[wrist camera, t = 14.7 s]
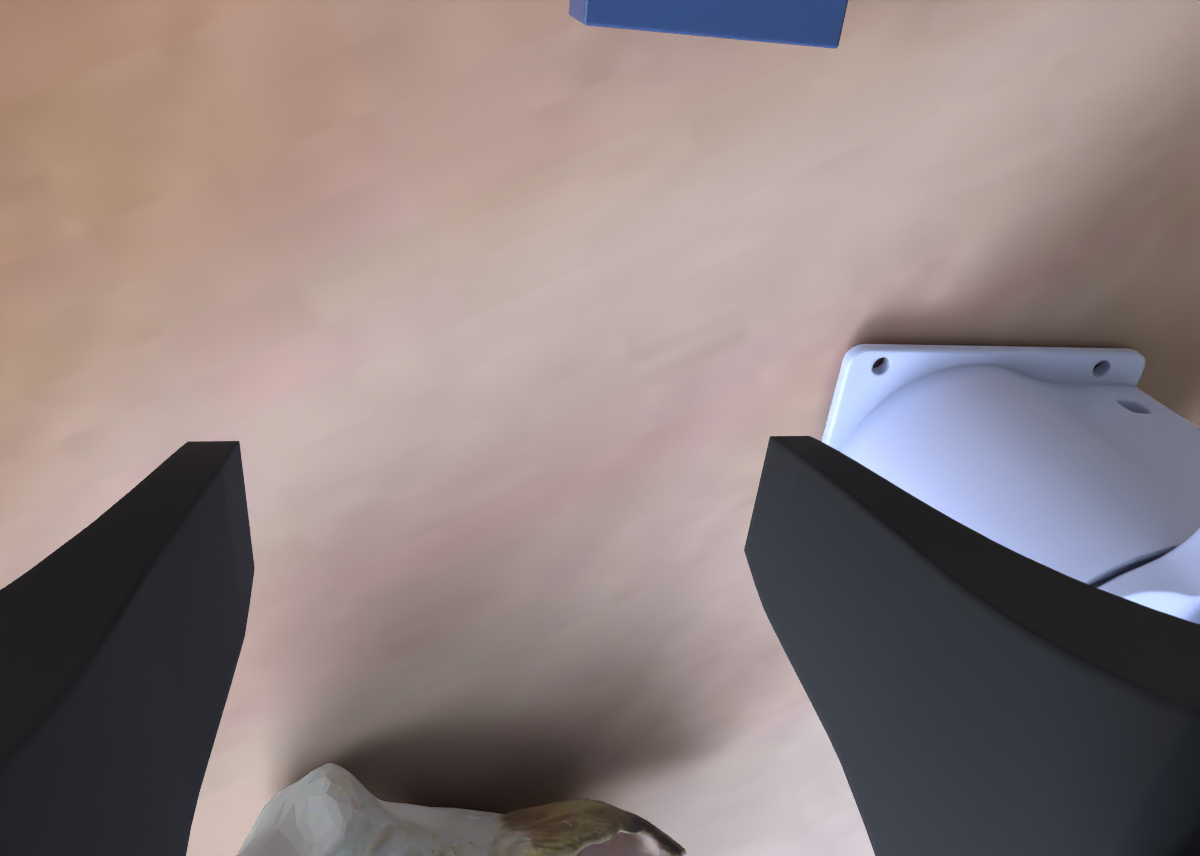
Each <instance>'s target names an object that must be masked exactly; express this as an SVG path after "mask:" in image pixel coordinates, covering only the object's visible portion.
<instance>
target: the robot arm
mask: <svg viewBox="0 0 1200 856" xmlns="http://www.w3.org/2000/svg"><path fill="white" fill-rule="evenodd" d="M883 357H884V361H883V362H882V364H881V365H880V366H879V367H877V368H873V364H874V363H875V361H876V360H878V359H879V358H883ZM1099 362H1100V364H1099V365H1098V367H1097V368H1095V369H1094V367H1095V366H1096V364H1098V363H1099ZM1145 363H1146V362H1145V357H1144V356H1143V355H1142V354H1140V353H1139V352H1137V351H1135V350H1133V349H1128V348H1072V347H1015V346H959V345H903V344H860V345H856V346H854V347H852V348H851V349H850V350H849V351H848V352H847V353H846V354H845V356H844V358H843V361H842V365H841V368H840V372H839V376H838V380H837V384H836V388H835V392H834V395H833V399H832V403H831V407H830V411H829V415H828V418H827V422H826V426H825V430H824V434H823V438H822V442H821V441H819V440H817V439H815V438H813V437H810V436H770V439H769V443H768V448H767V452H766V457H765V461H764V465H763V470H762V474H761V479H760V483H759V488H758V492H757V496H756V501H755V505H754V510H753V514H752V518H751V523H750V527H749V532H748V536H747V540H746V545H745V549H744V551H745V554H746V557H747V560H748V563H749V567H750V570H751V573H752V576H753V579H754V583H755V585H756V588H757V591H758V594H759V597H760V599H761V602H762V605H763V608H764V610H765V612H766V614H767V616H768V618H769V620H770V623H771V625H772V627H773V629H774V631H775V633H776V635H777V637H778V639H779V641H780V643H781V645H782V647H783V649H784V651H785V653H786V654H787V656H788V658H789V660H790V662H791V664H792V666H793V668H794V670H795V672H796V674H797V676H798V678H799V680H800V682H801V684H802V686H803V688H804V689H805V691H806V693H807V695H808V697H809V699H810V701H811V703H812V705H813V707H814V709H815V711H816V713H817V715H818V717H819V719H820V721H821V723H822V725H823V726H824V728H825V730H826V732H827V734H828V736H829V738H830V741H831V743H832V745H833V747H834V749H835V752H836V754H837V756H838V758H839V760H840V762H841V765H842V767H843V770H844V772H845V775H846V778H847V780H848V783H849V785H850V788H851V791H852V793H853V796H854V799H855V801H856V804H857V806H858V809H859V812H860V814H861V817H862V819H863V822H864V825H865V827H866V830H867V833H868V836H869V839H870V841H871V844H872V847H873V850H874V853H875V856H1200V428H1198V427H1197V426H1195V425H1194V424H1192V423H1191V422H1189V421H1188V420H1186V419H1185V418H1183V417H1181V416H1180V415H1178V414H1177V413H1175V412H1174V411H1172V410H1171V409H1169V408H1168V407H1166V406H1165V405H1163V404H1161V403H1160V402H1158V401H1157V400H1155V399H1154V398H1152V397H1151V396H1149V395H1148V394H1146V393H1145V392H1143V391H1141V390H1140V389H1138V388H1137V387H1136V386H1137V383H1138V381H1139V379H1140V377H1141V374H1142V372H1143V370H1144V367H1145ZM1093 369H1094V370H1093ZM253 576H254V561H253V553H252V544H251V536H250V527H249V519H248V511H247V502H246V494H245V485H244V477H243V469H242V460H241V452H240V443H239V441H212V442H187V443H186V444H184V445H183V446H182V447H181V448H179V449H178V450H177V451H176V452H175V453H174V454H172V455H171V456H170V457H169V458H168V459H167V460H165V461H164V462H163V463H162V464H161V465H160V466H159V467H158V468H156V469H155V470H154V471H153V472H152V473H151V474H150V475H148V476H147V477H146V478H145V479H144V480H143V481H141V482H140V483H139V484H138V485H137V486H136V487H135V488H133V489H132V490H131V491H130V492H129V493H128V494H126V495H125V496H124V497H123V498H122V499H120V500H119V501H118V502H117V503H116V504H114V505H113V506H112V507H111V508H110V509H108V510H107V511H106V512H105V513H104V514H102V515H101V516H100V517H99V518H98V519H96V520H95V521H94V522H93V523H92V524H90V525H89V526H88V527H86V528H85V529H84V530H82V531H81V532H80V533H78V534H77V535H76V536H74V537H73V538H72V539H70V540H69V541H68V542H66V543H65V544H64V545H62V546H61V547H60V548H58V549H57V550H56V551H55V552H53V553H52V554H51V555H49V556H48V557H47V558H45V559H44V560H43V561H41V562H40V563H39V564H37V565H36V566H35V567H33V568H32V569H31V570H29V571H28V572H26V573H25V574H24V575H22V576H21V577H19V578H18V579H16V580H15V581H13V582H12V583H11V584H9V585H8V586H6V587H4V588H3V589H1V590H0V856H186V852H187V846H188V841H189V835H190V830H191V825H192V821H193V817H194V813H195V808H196V804H197V800H198V796H199V792H200V788H201V785H202V782H203V778H204V775H205V771H206V768H207V764H208V761H209V758H210V754H211V751H212V747H213V744H214V741H215V737H216V734H217V730H218V727H219V724H220V720H221V717H222V713H223V710H224V707H225V703H226V700H227V696H228V693H229V690H230V686H231V683H232V679H233V676H234V672H235V669H236V665H237V662H238V658H239V655H240V651H241V647H242V644H243V640H244V637H245V631H246V624H247V618H248V611H249V605H250V598H251V590H252V583H253Z"/></svg>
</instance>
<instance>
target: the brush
mask: <svg viewBox="0 0 1200 856" xmlns="http://www.w3.org/2000/svg"><path fill="white" fill-rule="evenodd" d="M847 3H848V0H570V8H569V14H570V15H571V16H572V17H574V18H575V19H577V20H579V21H580V22H582V23H583V24H585V25H588V26H599V27H610V28H620V29H631V30H642V31H653V32H663V33H674V34H685V35H695V36H706V37H717V38H727V39H738V40H749V41H760V42H770V43H781V44H792V45H802V46H813V47H824V48H837V47H838V45H839V40H840V36H841V31H842V26H843V22H844V17H845V12H846V8H847Z"/></svg>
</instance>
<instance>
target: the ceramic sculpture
mask: <svg viewBox="0 0 1200 856" xmlns="http://www.w3.org/2000/svg"><path fill="white" fill-rule="evenodd" d="M685 854H686V852H685V849H684V848H683V847H682V846H681V845H680V844H678V843H677V842H676V841H674V840H673V839H672V838H671V837H669V836H668V835H667V834H665V833H664V832H662V831H661V830H660V829H658V828H657V827H655V826H654V825H653V824H651V823H650V822H648V821H647V820H645V819H643V818H641V817H639V816H637V815H635V814H633V813H630V812H627V811H624V810H621V809H619V808H617V807H615V806H613V805H610V804H607V803H604V802H601V801H596V800H591V799H572V800H566V801H561V802H556V803H550V804H545V805H539V806H534V807H529V808H524V809H519V810H514V811H512V812H509V813H507V814H499V813H492V812H484V811H475V810H467V809H459V808H441V807H426V806H420V805H413V804H406V803H393V802H386V801H382V800H379V799H378V798H376V797H375V796H374V795H373V794H371V793H370V792H369V791H368V790H367V789H366V788H365V787H364V786H363V785H362V784H361V783H360V782H359V781H358V780H357V779H356V777H355V776H354V775H352V774H351V773H350V772H349V771H347V770H346V769H344V768H342V767H341V766H339V765H336V764H333V763H327V764H325V765H323V766H320V767H318V768H316V769H314V770H313V771H311V772H310V773H309V774H307V775H306V776H305V777H303V778H302V779H300V780H299V781H297V782H295V783H293V784H291V785H289V786H287V787H286V788H284V789H283V790H281V791H280V792H278V793H277V794H276V795H275V796H274V797H273V798H272V799H271V800H270V801H269V802H268V803H267V804H266V805H265V807H264V808H263V810H262V812H261V814H260V815H259V817H258V819H257V821H256V822H255V824H254V826H253V828H252V830H251V831H250V833H249V835H248V837H247V838H246V840H245V842H244V844H243V845H242V847H241V849H240V851H239V853H238V854H237V855H236V856H683V855H685Z"/></svg>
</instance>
